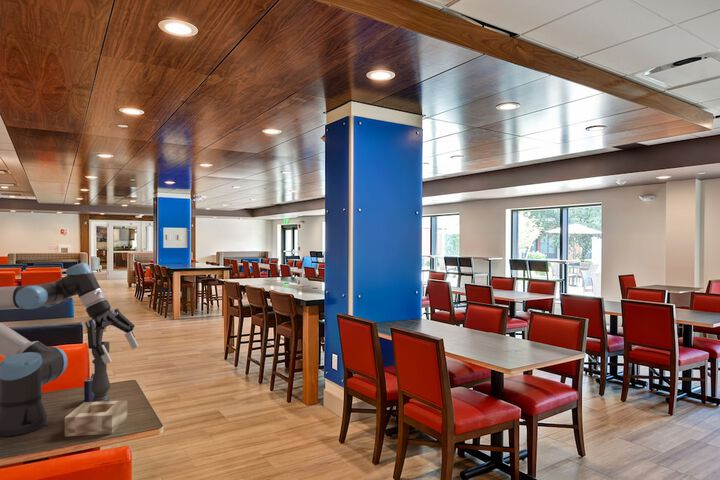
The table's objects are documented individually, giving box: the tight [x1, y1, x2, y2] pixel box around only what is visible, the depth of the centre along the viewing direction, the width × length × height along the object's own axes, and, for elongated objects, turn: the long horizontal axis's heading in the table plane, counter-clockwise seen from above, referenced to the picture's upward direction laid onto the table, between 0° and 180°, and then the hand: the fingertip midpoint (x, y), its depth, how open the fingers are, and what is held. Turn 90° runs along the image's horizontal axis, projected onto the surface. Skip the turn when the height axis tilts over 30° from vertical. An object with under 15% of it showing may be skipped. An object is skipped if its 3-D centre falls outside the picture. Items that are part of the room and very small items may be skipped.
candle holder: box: [91, 341, 111, 402], centre depth 167 cm, size 6×6×25 cm
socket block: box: [64, 399, 128, 437], centre depth 155 cm, size 14×14×6 cm
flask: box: [83, 372, 94, 403], centre depth 180 cm, size 9×3×11 cm, turn 1°
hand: (122, 355), depth 171 cm, fingers open, 13 cm apart
